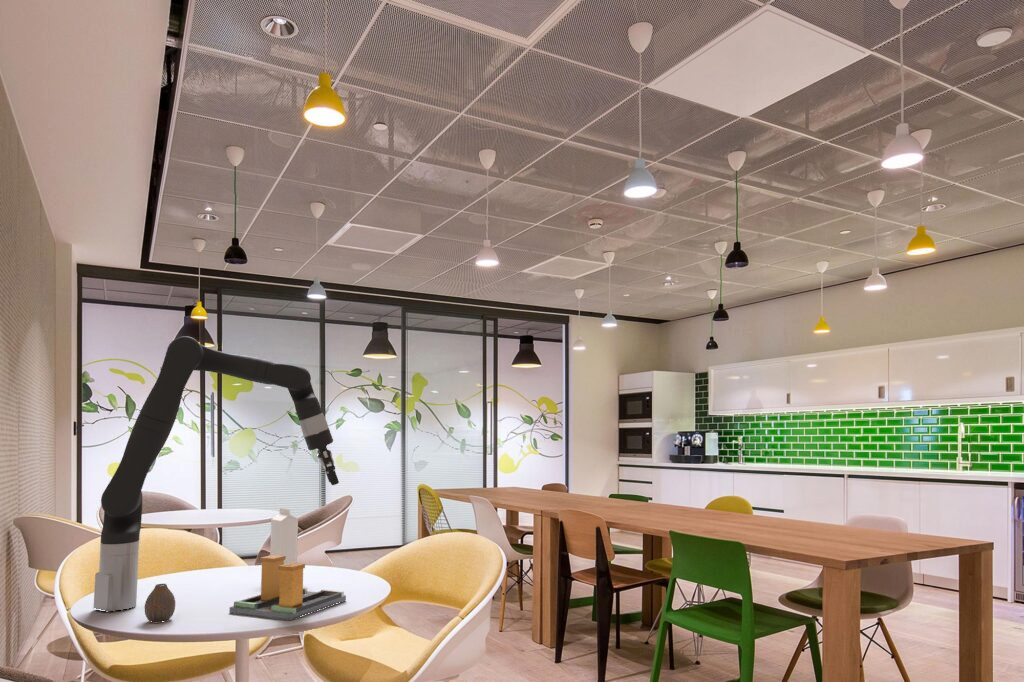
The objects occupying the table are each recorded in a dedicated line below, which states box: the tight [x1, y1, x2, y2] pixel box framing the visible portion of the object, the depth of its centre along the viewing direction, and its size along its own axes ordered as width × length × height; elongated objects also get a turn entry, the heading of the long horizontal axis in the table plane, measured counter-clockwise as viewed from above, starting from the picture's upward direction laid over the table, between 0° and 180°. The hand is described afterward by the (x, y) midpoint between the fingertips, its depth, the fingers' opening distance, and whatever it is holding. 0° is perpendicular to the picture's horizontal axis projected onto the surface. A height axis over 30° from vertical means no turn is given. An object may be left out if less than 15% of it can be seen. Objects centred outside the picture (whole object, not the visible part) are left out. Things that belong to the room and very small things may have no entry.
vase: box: [144, 583, 176, 623], centre depth 183 cm, size 7×7×9 cm
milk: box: [269, 507, 299, 564], centre depth 230 cm, size 6×6×22 cm
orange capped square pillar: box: [259, 554, 286, 600], centre depth 199 cm, size 5×5×11 cm
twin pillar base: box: [228, 562, 347, 622], centre depth 196 cm, size 22×20×12 cm
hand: (334, 482), depth 219 cm, fingers open, 8 cm apart
